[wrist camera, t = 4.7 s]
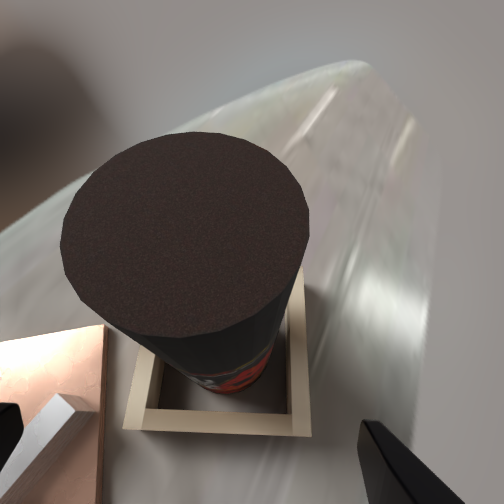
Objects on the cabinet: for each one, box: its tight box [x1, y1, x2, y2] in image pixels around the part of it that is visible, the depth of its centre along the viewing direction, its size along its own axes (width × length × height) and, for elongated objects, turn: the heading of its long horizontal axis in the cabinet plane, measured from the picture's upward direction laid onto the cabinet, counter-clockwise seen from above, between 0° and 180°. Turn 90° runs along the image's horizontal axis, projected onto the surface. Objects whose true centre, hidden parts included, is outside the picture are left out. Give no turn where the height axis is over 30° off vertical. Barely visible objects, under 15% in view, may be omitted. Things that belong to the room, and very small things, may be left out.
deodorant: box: [60, 132, 309, 394], centre depth 14 cm, size 6×6×15 cm
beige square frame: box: [122, 266, 312, 437], centre depth 19 cm, size 10×10×2 cm
